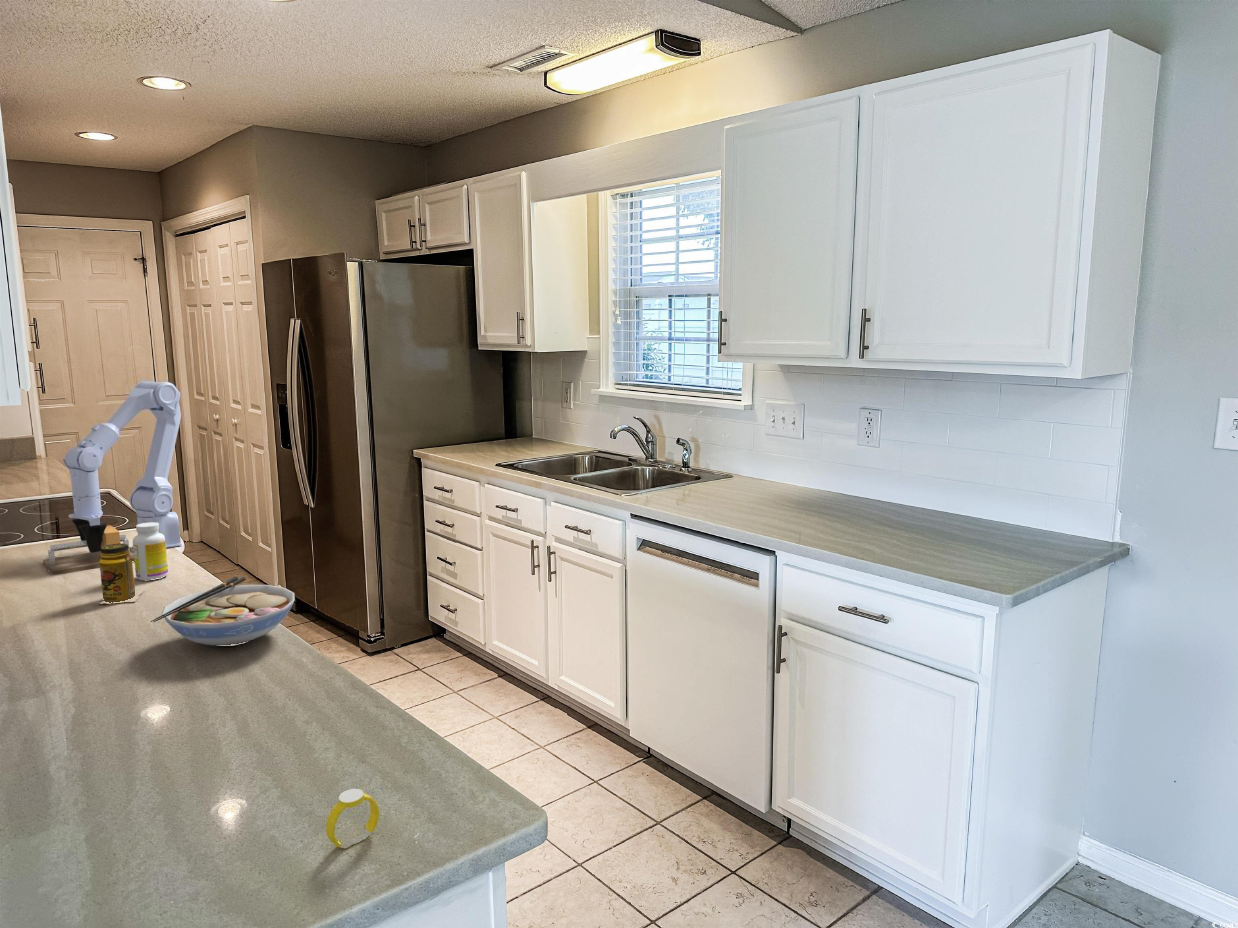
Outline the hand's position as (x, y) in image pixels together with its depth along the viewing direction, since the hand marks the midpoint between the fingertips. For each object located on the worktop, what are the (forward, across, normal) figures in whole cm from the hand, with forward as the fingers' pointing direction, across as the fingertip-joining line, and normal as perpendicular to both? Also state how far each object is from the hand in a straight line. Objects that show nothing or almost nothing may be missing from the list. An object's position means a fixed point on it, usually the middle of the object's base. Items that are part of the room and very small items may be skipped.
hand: (91, 548), depth 209 cm
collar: (+1, 0, +4) cm, 4 cm away
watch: (+4, +152, -3) cm, 152 cm away
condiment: (+4, +36, -2) cm, 36 cm away
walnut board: (+3, 0, 0) cm, 3 cm away
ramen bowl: (+4, +78, +8) cm, 78 cm away
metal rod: (+3, 0, 0) cm, 3 cm away
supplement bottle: (+4, +24, +8) cm, 25 cm away
